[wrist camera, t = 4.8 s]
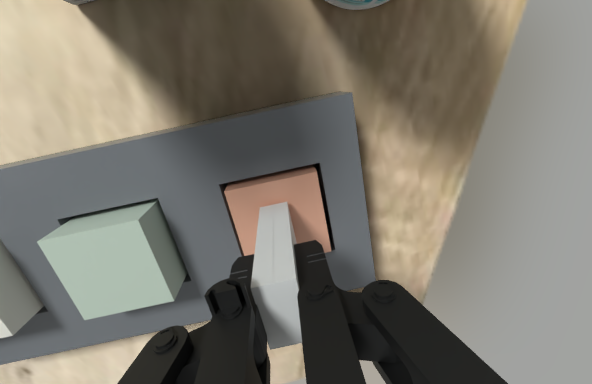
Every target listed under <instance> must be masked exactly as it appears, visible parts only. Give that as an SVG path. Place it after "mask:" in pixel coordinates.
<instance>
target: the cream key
mask: <svg viewBox="0 0 592 384" xmlns="http://www.w3.org/2000/svg"><path fill="white" fill-rule="evenodd" d="M42 307H44V304H43V303H42V301H41V300H40V298H39V297H38V295H37V294H36V292H35V291H34V289H33V288H32V286H31V285H30V283H29V282H28V280H27V278H26V277H25V275H24V274H23V272H22V271H21V269H20V268H19V266H18V265H17V263H16V262H15V260H14V259H13V257H12V256H11V254H10V253H9V251H8V250H7V248H6V247H5V245H4V244H3V242H2V240H1V239H0V338H4V337H9V336H13V335H14V334H15V333H16V332H17V331H18V330H19V329H20V328H21V327H23V326H24V325H25V324H26V323H27V322H28V321H29V320H30V319H31V318H32V317H33V316H34V315H35V314H36V313H37V312H38V311H39V310H40V309H41V308H42Z"/></svg>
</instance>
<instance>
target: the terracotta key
mask: <svg viewBox="0 0 592 384" xmlns="http://www.w3.org/2000/svg"><path fill="white" fill-rule="evenodd" d="M224 193H225V196H226V199H227V202H228V205H229V209H230V212H231V215H232V218H233V221H234V224H235V228H236V231H237V234H238V237H239V240H240V243H241V247H242V250H243V253H244V256H247V255H251V254H254V253H255V245H256V236H257V227H258V219H259V210H260V207H264V206H269V205H273V204H278V203H283V202H287V203H288V208H289V212H290V216H291V221H292V225H293V229H294V233H295V238H296V242H297V244H298V243H303V242H308V241H312V240H316V241H318V242H319V243H320V244H322V247H323V250H324V253H327V252H331V246H330V241H329V235H328V230H327V224H326V219H325V214H324V208H323V203H322V197H321V192H320V187H319V181H318V176H317V171H316V169H315V167H314V165H313V164H311V165H307V166H302V167H297V168H293V169H288V170H284V171H279V172H274V173H270V174H265V175H260V176H256V177H251V178H247V179H242V180H237V181H233V182H229V183H228V185H227V187H226V189H225V191H224Z"/></svg>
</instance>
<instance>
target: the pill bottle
mask: <svg viewBox="0 0 592 384" xmlns="http://www.w3.org/2000/svg"><path fill="white" fill-rule="evenodd" d="M325 1H326V2H328V3H330V4H332V5H334V6H337V7H340V8H344V9H350V10H362V9H369V8H373V7H376V6H379V5H381V4H384V3H386V2H388V1H389V0H325Z"/></svg>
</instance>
